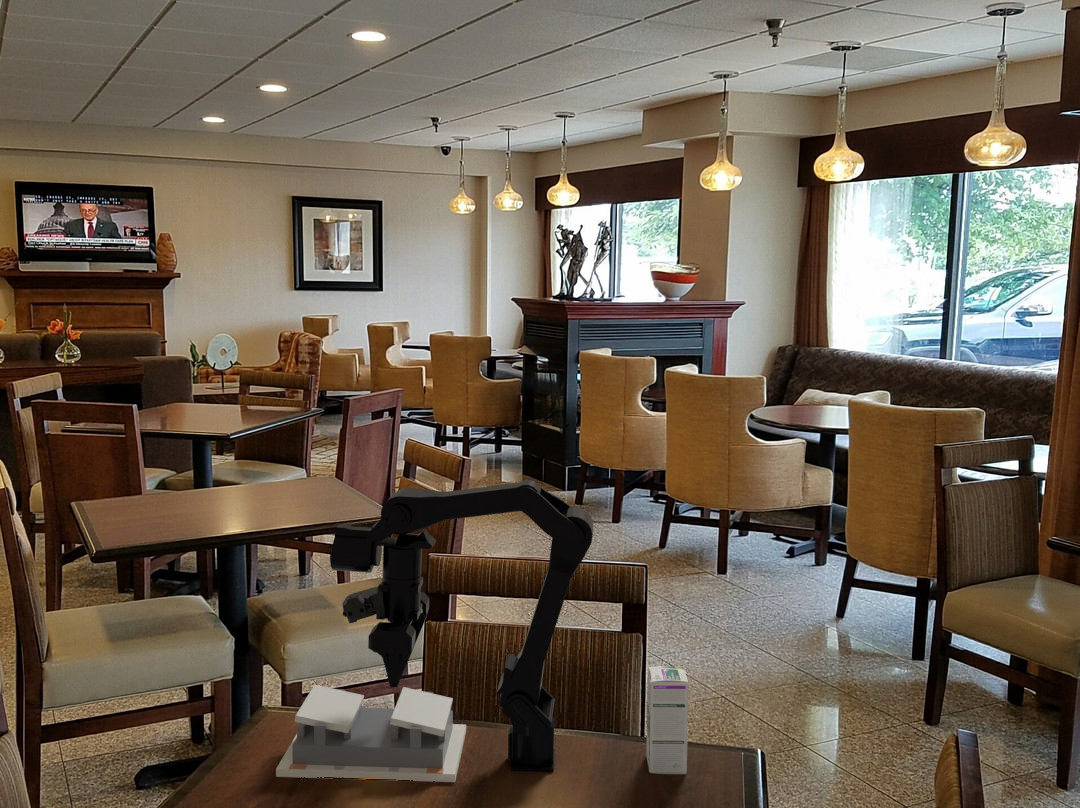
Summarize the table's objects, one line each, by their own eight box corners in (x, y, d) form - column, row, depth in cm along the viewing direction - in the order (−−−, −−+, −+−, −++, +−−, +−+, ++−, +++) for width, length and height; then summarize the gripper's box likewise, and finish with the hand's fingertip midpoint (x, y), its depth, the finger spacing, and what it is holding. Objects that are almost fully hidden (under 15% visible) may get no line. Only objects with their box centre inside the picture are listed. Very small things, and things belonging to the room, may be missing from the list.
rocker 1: (362, 704, 155) (364, 695, 155) (347, 737, 144) (349, 726, 144) (312, 694, 155) (314, 684, 155) (293, 725, 144) (295, 715, 144)
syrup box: (687, 775, 145) (691, 681, 144) (647, 774, 146) (650, 680, 144) (682, 756, 151) (686, 666, 149) (644, 755, 151) (647, 665, 149)
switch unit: (466, 731, 158) (466, 688, 157) (455, 782, 142) (455, 734, 141) (305, 726, 159) (304, 684, 158) (276, 776, 143) (275, 729, 142)
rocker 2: (450, 707, 155) (453, 698, 155) (442, 740, 144) (444, 730, 144) (401, 696, 155) (403, 686, 155) (388, 728, 144) (391, 717, 144)
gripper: (361, 554, 156) (358, 648, 158) (333, 591, 138) (331, 697, 140) (431, 557, 156) (427, 652, 158) (412, 595, 137) (409, 701, 139)
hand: (399, 674), depth 149 cm, fingers open, 9 cm apart
